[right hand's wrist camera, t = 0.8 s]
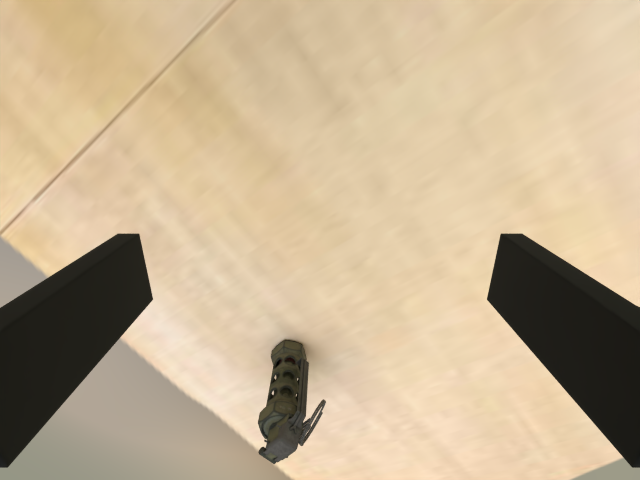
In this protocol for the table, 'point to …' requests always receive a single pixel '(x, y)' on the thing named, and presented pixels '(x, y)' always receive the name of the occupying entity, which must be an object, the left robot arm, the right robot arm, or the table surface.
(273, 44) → the table surface
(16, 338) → the right robot arm
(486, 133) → the table surface
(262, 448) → the grenade
